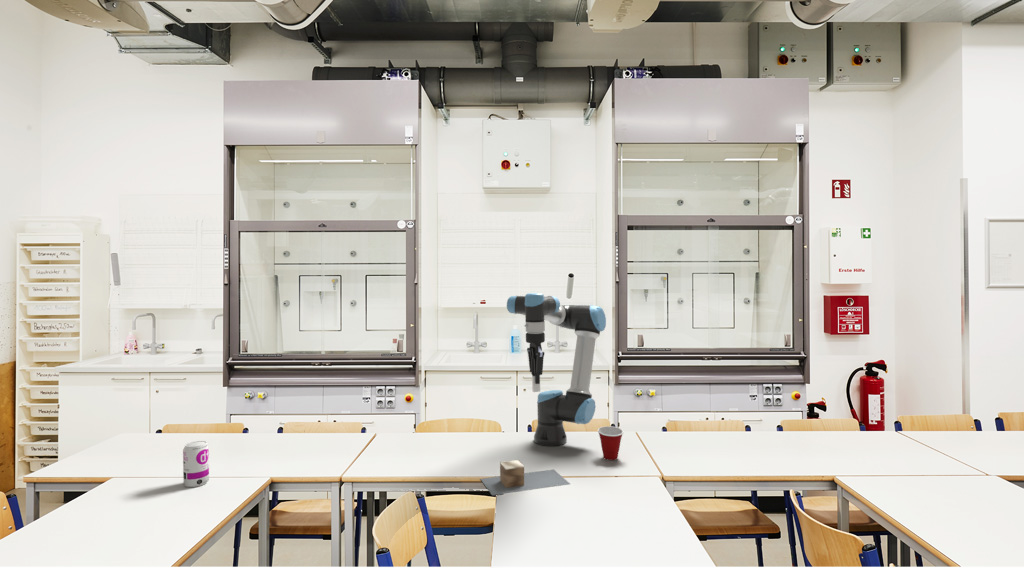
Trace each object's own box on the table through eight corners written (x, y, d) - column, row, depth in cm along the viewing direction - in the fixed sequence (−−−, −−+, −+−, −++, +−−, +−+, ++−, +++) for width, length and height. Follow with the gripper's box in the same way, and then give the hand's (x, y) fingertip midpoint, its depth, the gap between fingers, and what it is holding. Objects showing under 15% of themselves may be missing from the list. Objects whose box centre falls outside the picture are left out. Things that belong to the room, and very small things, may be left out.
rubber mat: (553, 470, 216) (553, 469, 216) (570, 484, 201) (570, 484, 201) (480, 479, 207) (480, 478, 207) (492, 495, 191) (492, 494, 191)
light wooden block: (500, 462, 204) (500, 480, 204) (505, 468, 198) (506, 487, 198) (517, 460, 206) (517, 478, 207) (524, 466, 200) (524, 485, 200)
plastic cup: (600, 462, 224) (600, 433, 224) (595, 454, 235) (595, 426, 234) (626, 462, 225) (626, 433, 224) (620, 453, 235) (619, 425, 235)
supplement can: (214, 481, 207) (213, 441, 207) (195, 489, 199) (194, 448, 199) (197, 478, 209) (197, 439, 209) (178, 486, 202) (177, 446, 201)
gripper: (520, 331, 221) (521, 388, 222) (532, 335, 208) (533, 396, 209) (537, 329, 223) (539, 387, 224) (550, 333, 211) (551, 394, 212)
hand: (536, 391), depth 217 cm, fingers closed
